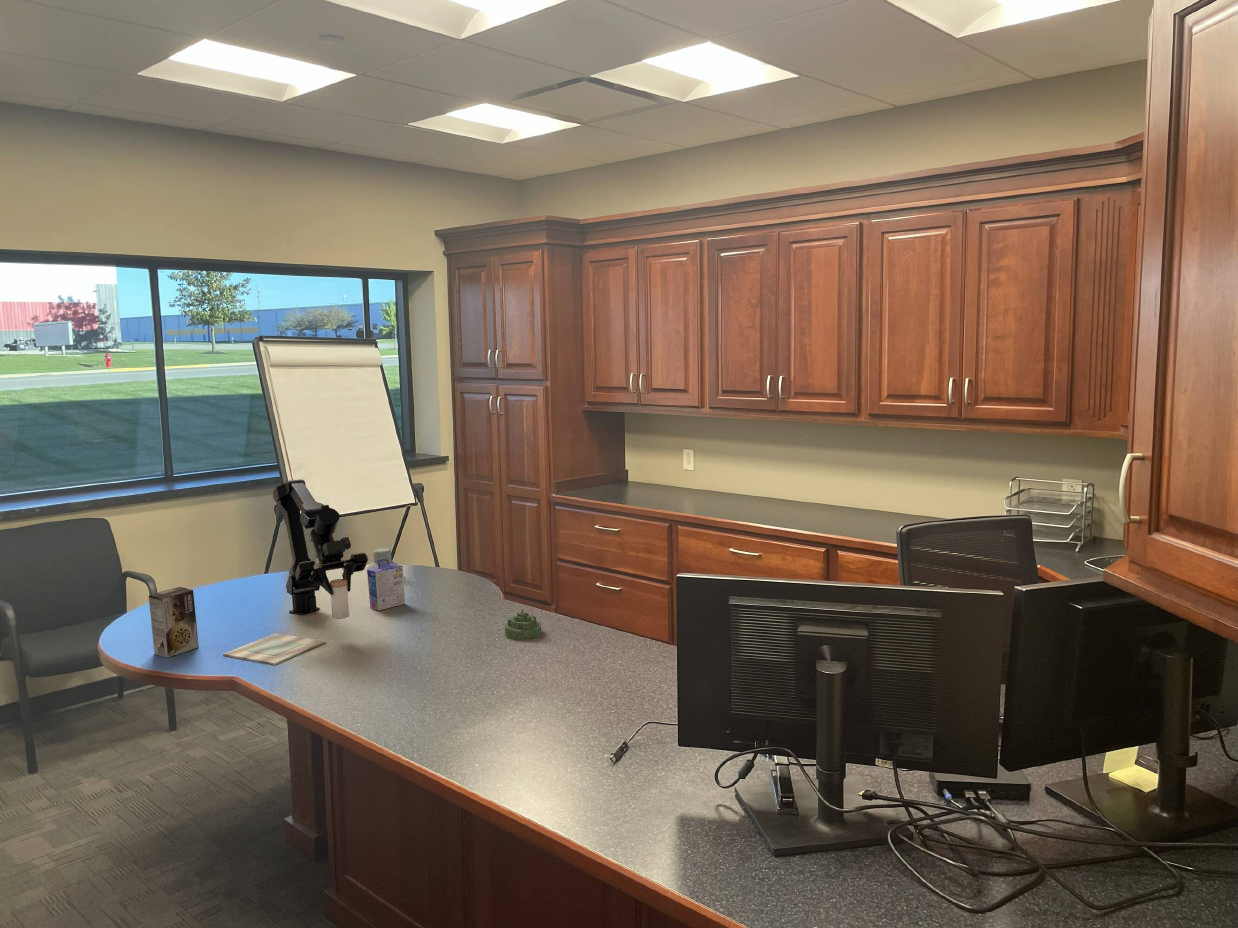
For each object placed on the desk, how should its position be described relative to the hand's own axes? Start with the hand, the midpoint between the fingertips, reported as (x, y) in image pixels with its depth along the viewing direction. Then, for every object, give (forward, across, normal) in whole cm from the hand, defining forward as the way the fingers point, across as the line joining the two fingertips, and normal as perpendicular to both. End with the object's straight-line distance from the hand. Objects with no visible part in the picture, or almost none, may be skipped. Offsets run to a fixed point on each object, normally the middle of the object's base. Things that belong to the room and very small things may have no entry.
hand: (340, 592), depth 242 cm
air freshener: (-30, +34, +50) cm, 67 cm away
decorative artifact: (+28, +41, -9) cm, 51 cm away
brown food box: (-5, -38, +24) cm, 45 cm away
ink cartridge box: (-7, +22, +27) cm, 35 cm away
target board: (+6, -17, +13) cm, 22 cm away
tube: (+4, 0, +6) cm, 7 cm away
